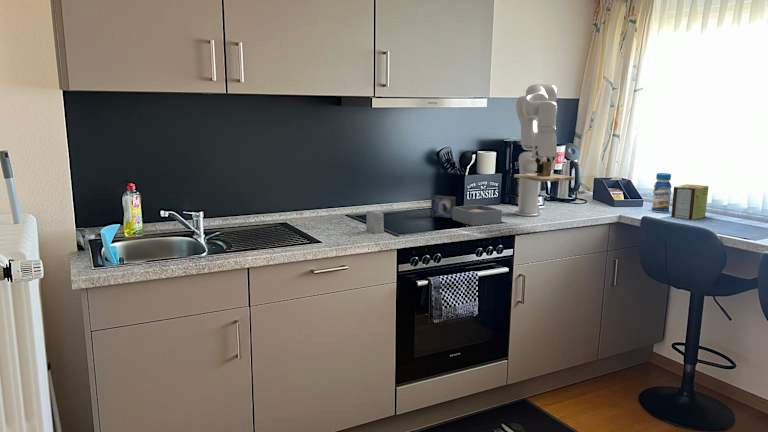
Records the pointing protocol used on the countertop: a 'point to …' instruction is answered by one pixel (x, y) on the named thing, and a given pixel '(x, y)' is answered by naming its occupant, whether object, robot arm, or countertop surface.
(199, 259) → the countertop surface
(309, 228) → the countertop surface
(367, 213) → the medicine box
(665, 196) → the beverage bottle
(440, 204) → the small box
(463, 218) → the slate bin
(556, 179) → the oak lid
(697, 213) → the protein box
